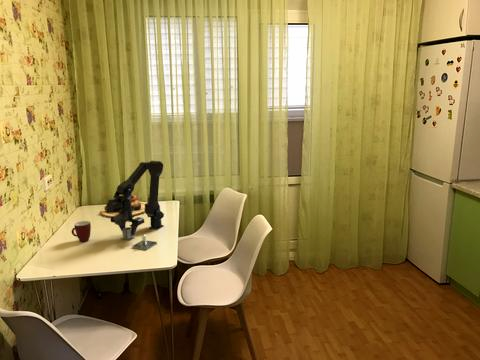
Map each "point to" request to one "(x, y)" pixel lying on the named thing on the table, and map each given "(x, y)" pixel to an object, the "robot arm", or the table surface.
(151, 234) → the table surface
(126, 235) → the hub ring
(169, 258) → the table surface
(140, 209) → the wooden plate with food
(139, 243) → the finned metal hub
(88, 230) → the mug
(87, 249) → the table surface
